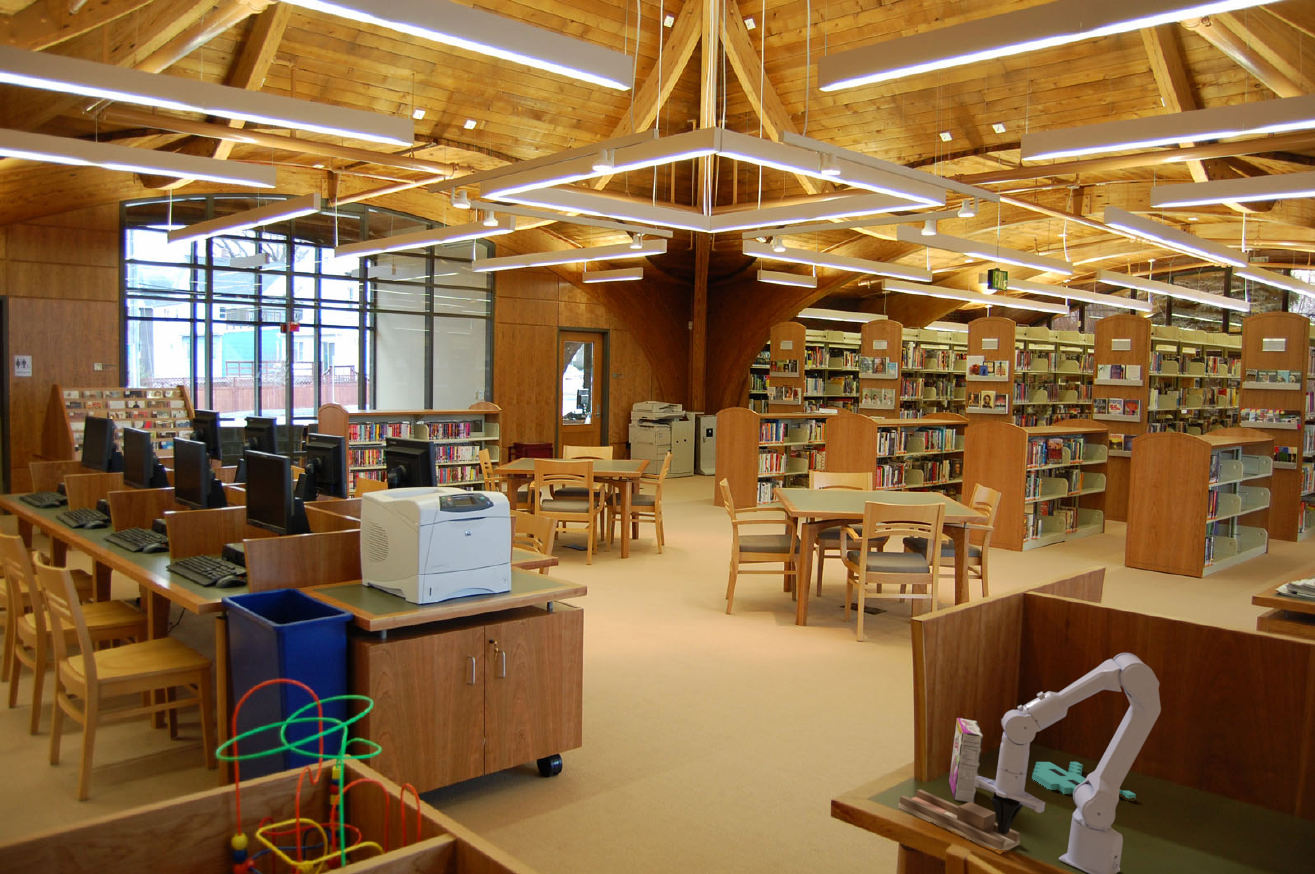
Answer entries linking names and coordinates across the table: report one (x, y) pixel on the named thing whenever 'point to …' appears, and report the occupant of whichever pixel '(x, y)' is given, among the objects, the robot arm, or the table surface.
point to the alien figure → (1063, 777)
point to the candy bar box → (965, 760)
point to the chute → (955, 820)
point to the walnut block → (977, 816)
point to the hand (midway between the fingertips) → (1003, 832)
